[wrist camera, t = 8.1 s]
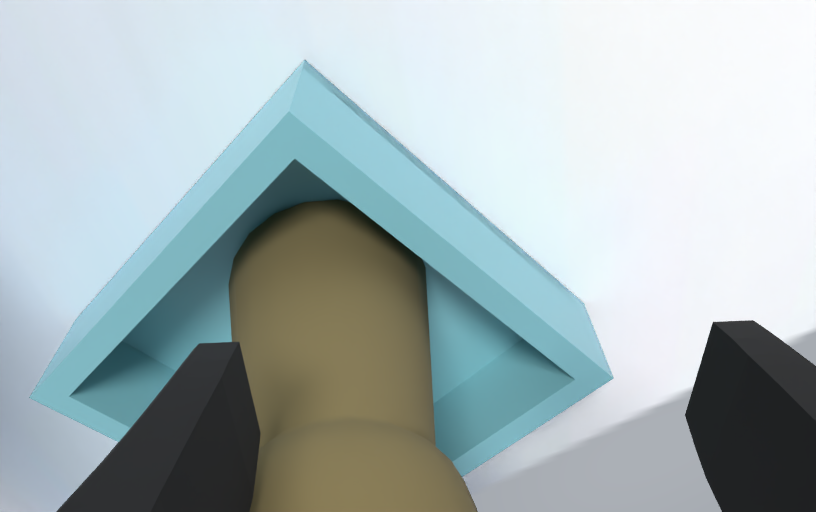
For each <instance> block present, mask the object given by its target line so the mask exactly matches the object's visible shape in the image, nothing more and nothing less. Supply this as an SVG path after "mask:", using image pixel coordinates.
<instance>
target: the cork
mask: <svg viewBox="0 0 816 512" xmlns="http://www.w3.org/2000/svg"><path fill="white" fill-rule="evenodd" d="M228 286H229V303H230V320H231V336H232V342H239V343H240V347H241V351H242V356H243V360H244V364H245V368H246V373H247V377H248V381H249V385H250V390H251V394H252V398H253V402H254V407H255V411H256V415H257V419H258V424H259V428H260V432H261V434H260V443H259V453H258V462H257V470H256V478H255V486H254V493H253V499H252V503H251V508H250V512H477V508H476V506H475V504H474V501H473V499H472V497H471V495H470V493H469V490H468V488H467V486H466V484H465V482H464V480H463V478H462V477H461V475H460V474H459V472H458V470H457V469H456V467H455V466H454V464H453V462H452V461H451V460H450V459H449V458H448V457H447V456H446V455H445V454H444V453H442V452H441V451H440V450H439V449H438V448H437V447H436V442H435V424H434V406H433V389H432V371H431V354H430V336H429V318H428V301H427V283H426V267H425V264H424V262H423V259H422V258H420V257H419V256H418V255H417V254H415V253H414V252H413V251H411V250H410V249H409V248H408V247H406V246H405V245H404V244H403V243H401V242H400V241H399V240H398V239H396V238H395V237H394V236H392V235H391V234H390V233H389V232H387V231H386V230H385V229H384V228H382V227H381V226H380V225H378V224H377V223H376V222H375V221H373V220H372V219H371V218H370V217H368V216H367V215H366V214H365V213H363V212H362V211H361V210H359V209H358V208H357V207H356V206H354V205H353V204H352V203H351V202H347V201H342V200H325V201H312V202H303V203H301V204H298V205H296V206H293V207H290V208H288V209H285V210H283V211H280V212H277V213H275V214H273V215H272V216H270V217H269V218H268V219H267V220H265V221H264V222H263V223H262V224H260V225H259V226H258V227H257V228H255V229H254V230H253V231H252V232H250V233H249V235H248V236H247V238H246V239H245V241H244V242H243V244H242V246H241V247H240V249H239V250H238V252H237V254H236V255H235V257H234V259H233V264H232V269H231V274H230V279H229V284H228Z"/></svg>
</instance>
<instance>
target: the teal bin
mask: <svg viewBox="0 0 816 512" xmlns="http://www.w3.org/2000/svg"><path fill="white" fill-rule="evenodd" d="M325 200H342V201H347V202H351V203H352V204H353V205H354V206H356V207H357V208H358V209H359V210H361V211H362V212H363V213H365V214H366V215H367V216H368V217H370V218H371V219H372V220H373V221H375V222H376V223H377V224H378V225H380V226H381V227H382V228H384V229H385V230H386V231H387V232H389V233H390V234H391V235H392V236H394V237H395V238H396V239H398V240H399V241H400V242H401V243H403V244H404V245H405V246H406V247H408V248H409V249H410V250H411V251H413V252H414V253H415V254H417V255H418V256H419V257H420V258H422V259H423V262H424V264H425V267H426V283H427V301H428V318H429V336H430V354H431V371H432V389H433V406H434V424H435V442H436V447H437V448H438V449H439V450H440V451H441V452H442V453H444V454H445V455H446V456H447V457H448V458H449V459H450V460H451V461H452V462H453V464H454V466H455V467H456V469H457V470H458V472H459V474H460V475H461V477H463V476H464V475H466V474H467V473H469V472H470V471H472V470H474V469H475V468H477V467H478V466H480V465H481V464H483V463H484V462H486V461H487V460H489V459H490V458H492V457H493V456H495V455H497V454H498V453H500V452H501V451H503V450H504V449H506V448H507V447H509V446H510V445H512V444H513V443H515V442H516V441H518V440H520V439H521V438H523V437H524V436H526V435H527V434H529V433H530V432H532V431H533V430H535V429H536V428H538V427H540V426H541V425H543V424H544V423H546V422H547V421H549V420H550V419H552V418H553V417H555V416H556V415H558V414H559V413H561V412H563V411H564V410H566V409H567V408H569V407H570V406H572V405H573V404H575V403H576V402H578V401H579V400H581V399H583V398H584V397H586V396H587V395H589V394H590V393H592V392H593V391H595V390H596V389H598V388H599V387H601V386H602V385H604V384H606V383H607V382H609V381H610V380H612V379H613V375H612V373H611V370H610V368H609V365H608V363H607V360H606V358H605V355H604V353H603V350H602V348H601V345H600V343H599V340H598V338H597V335H596V333H595V330H594V328H593V325H592V323H591V320H590V318H589V315H588V313H587V310H586V308H585V305H584V303H583V302H582V301H581V300H579V299H578V298H577V297H576V296H575V295H574V294H572V293H571V292H570V291H569V290H568V289H567V288H566V287H564V286H563V285H562V284H561V283H560V282H559V281H558V280H556V279H555V278H554V277H553V276H552V275H551V274H550V273H548V272H547V271H546V270H545V269H544V268H543V267H542V266H540V265H539V264H538V263H537V262H536V261H535V260H534V259H532V258H531V257H530V256H529V255H528V254H527V253H526V252H524V251H523V250H522V249H521V248H520V247H519V246H517V245H516V244H515V243H514V242H513V241H512V240H511V239H509V238H508V237H507V236H506V235H505V234H504V233H503V232H501V231H500V230H499V229H498V228H497V227H496V226H495V225H493V224H492V223H491V222H490V221H489V220H488V219H487V218H485V217H484V216H483V215H482V214H481V213H480V212H479V211H477V210H476V209H475V208H474V207H473V206H472V205H471V204H469V203H468V202H467V201H466V200H465V199H464V198H462V197H461V196H460V195H459V194H458V193H457V192H456V191H454V190H453V189H452V188H451V187H450V186H449V185H448V184H446V183H445V182H444V181H443V180H442V179H441V178H440V177H438V176H437V175H436V174H435V173H434V172H433V171H432V170H430V169H429V168H428V167H427V166H426V165H425V164H424V163H422V162H421V161H420V160H419V159H418V158H417V157H416V156H414V155H413V154H412V153H411V152H410V151H409V150H407V149H406V148H405V147H404V146H403V145H402V144H401V143H399V142H398V141H397V140H396V139H395V138H394V137H393V136H391V135H390V134H389V133H388V132H387V131H386V130H385V129H383V128H382V127H381V126H380V125H379V124H378V123H377V122H375V121H374V120H373V119H372V118H371V117H370V116H369V115H367V114H366V113H365V112H364V111H363V110H362V109H361V108H359V107H358V106H357V105H356V104H355V103H354V102H353V101H351V100H350V99H349V98H348V97H347V96H346V95H344V94H343V93H342V92H341V91H340V90H339V89H338V88H336V87H335V86H334V85H333V84H332V83H331V82H330V81H328V80H327V79H326V78H325V77H324V76H323V75H322V74H320V73H319V72H318V71H317V70H316V69H315V68H314V67H312V66H311V65H310V64H309V63H308V62H307V61H306V60H304V61H303V62H302V63H301V64H300V66H299V67H298V68H297V69H296V70H295V71H294V72H293V74H292V75H291V76H290V77H289V78H288V79H287V80H286V82H285V83H284V84H283V85H282V86H281V87H280V88H279V89H278V91H277V92H276V93H275V94H274V95H273V96H272V97H271V99H270V100H269V101H268V102H267V103H266V104H265V105H264V107H263V108H262V109H261V110H260V111H259V112H258V113H257V114H256V116H255V117H254V118H253V119H252V120H251V121H250V122H249V124H248V125H247V126H246V127H245V128H244V129H243V130H242V132H241V133H240V134H239V135H238V136H237V137H236V138H235V139H234V141H233V142H232V143H231V144H230V145H229V146H228V147H227V149H226V150H225V151H224V152H223V153H222V154H221V155H220V156H219V158H218V159H217V160H216V161H215V162H214V163H213V164H212V166H211V167H210V168H209V169H208V170H207V171H206V172H205V174H204V175H203V176H202V177H201V178H200V179H199V180H198V181H197V183H196V184H195V185H194V186H193V187H192V188H191V189H190V191H189V192H188V193H187V194H186V195H185V196H184V197H183V199H182V200H181V201H180V202H179V203H178V204H177V205H176V206H175V208H174V209H173V210H172V211H171V212H170V213H169V214H168V216H167V217H166V218H165V219H164V220H163V221H162V222H161V224H160V225H159V226H158V227H157V228H156V229H155V230H154V231H153V233H152V234H151V235H150V236H149V237H148V238H147V239H146V241H145V242H144V243H143V244H142V245H141V246H140V247H139V248H138V250H137V251H136V252H135V253H134V254H133V255H132V256H131V258H130V259H129V260H128V261H127V262H126V263H125V264H124V266H123V267H122V268H121V269H120V270H119V271H118V272H117V273H116V275H115V276H114V277H113V278H112V279H111V280H110V281H109V283H108V284H107V285H106V286H105V287H104V288H103V289H102V291H101V292H100V293H99V294H98V295H97V296H96V297H95V298H94V300H93V301H92V302H91V303H90V304H89V305H88V306H87V308H86V309H85V310H84V311H83V312H82V313H81V314H80V316H79V317H78V318H77V319H76V320H75V322H74V324H73V325H72V327H71V329H70V330H69V332H68V334H67V335H66V337H65V339H64V340H63V342H62V344H61V345H60V347H59V349H58V350H57V352H56V354H55V356H54V357H53V359H52V361H51V362H50V364H49V366H48V367H47V369H46V371H45V372H44V374H43V376H42V377H41V379H40V381H39V382H38V384H37V386H36V387H35V389H34V391H33V392H32V394H31V396H30V397H29V398H31V399H33V400H35V401H37V402H39V403H41V404H43V405H45V406H47V407H49V408H51V409H53V410H55V411H57V412H59V413H61V414H63V415H65V416H67V417H69V418H71V419H73V420H75V421H77V422H79V423H81V424H83V425H85V426H87V427H89V428H91V429H93V430H95V431H97V432H99V433H101V434H103V435H105V436H107V437H109V438H111V439H114V440H116V441H118V442H119V441H120V440H121V439H122V438H123V436H124V435H125V434H126V433H127V432H128V430H129V429H130V428H131V427H132V426H133V424H134V423H135V422H136V421H137V420H138V418H139V417H140V416H141V415H142V414H143V412H144V411H145V410H146V409H147V407H148V406H149V405H150V404H151V402H152V401H153V400H154V399H155V397H156V396H157V395H158V394H159V392H160V391H161V390H162V389H163V387H164V386H165V385H166V384H167V382H168V381H169V380H170V378H171V377H172V376H173V375H174V373H175V372H176V371H177V369H178V368H179V367H180V366H181V364H182V363H183V362H184V360H185V359H186V358H187V357H188V355H189V354H190V353H191V352H192V350H193V349H194V348H195V347H196V346H197V345H198V344H199V343H219V342H232V336H231V320H230V303H229V286H228V284H229V279H230V274H231V269H232V264H233V259H234V257H235V255H236V254H237V252H238V250H239V249H240V247H241V246H242V244H243V242H244V241H245V239H246V238H247V236H248V235H249V233H250V232H252V231H253V230H254V229H255V228H257V227H258V226H259V225H260V224H262V223H263V222H264V221H265V220H267V219H268V218H269V217H270V216H272V215H273V214H275V213H277V212H280V211H283V210H285V209H288V208H290V207H293V206H296V205H298V204H301V203H303V202H312V201H325Z"/></svg>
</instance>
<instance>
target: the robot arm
mask: <svg viewBox="0 0 816 512" xmlns="http://www.w3.org/2000/svg"><path fill="white" fill-rule="evenodd" d="M685 416H686V419H687V423H688V426H689V429H690V432H691V435H692V438H693V442H694V445H695V448H696V451H697V453H698V456H699V459H700V462H701V465H702V468H703V470H704V473H705V476H706V479H707V481H708V483H709V485H710V487H711V489H712V491H713V494H714V496H715V498H716V500H717V502H718V504H719V506H720V508H721V510H722V512H816V366H815V365H814V364H812V363H811V362H810V361H808V360H807V359H806V358H804V357H803V356H802V355H800V354H799V353H798V352H796V351H795V350H794V349H792V348H791V347H790V346H788V345H787V344H786V343H784V342H783V341H782V340H780V339H779V338H778V337H776V336H775V335H773V334H772V333H771V332H769V331H768V330H766V329H765V328H764V327H762V326H761V325H759V324H758V323H756V322H755V321H753V320H752V321H728V322H713V324H712V327H711V331H710V334H709V337H708V341H707V344H706V347H705V351H704V354H703V357H702V361H701V364H700V367H699V371H698V374H697V377H696V381H695V384H694V387H693V391H692V394H691V397H690V401H689V404H688V407H687V410H686V414H685ZM260 434H261V432H260V428H259V424H258V419H257V415H256V411H255V407H254V402H253V398H252V394H251V390H250V385H249V381H248V377H247V373H246V368H245V364H244V360H243V356H242V351H241V347H240V343H239V342H219V343H199V344H198V345H197V346H196V347H195V348H194V349H193V350H192V352H191V353H190V354H189V355H188V357H187V358H186V359H185V360H184V362H183V363H182V364H181V366H180V367H179V368H178V369H177V371H176V372H175V373H174V375H173V376H172V377H171V378H170V380H169V381H168V382H167V384H166V385H165V386H164V387H163V389H162V390H161V391H160V392H159V394H158V395H157V396H156V397H155V399H154V400H153V401H152V402H151V404H150V405H149V406H148V407H147V409H146V410H145V411H144V412H143V414H142V415H141V416H140V417H139V418H138V420H137V421H136V422H135V423H134V424H133V426H132V427H131V428H130V429H129V430H128V432H127V433H126V434H125V435H124V436H123V438H122V439H121V440H120V441H119V442H118V443H117V445H116V446H115V447H114V448H113V449H112V451H111V452H110V453H109V454H108V455H107V457H106V458H105V459H104V460H103V461H102V462H101V463H100V465H99V466H98V467H97V468H96V469H95V470H94V471H93V472H92V473H91V474H90V476H89V477H88V478H87V479H86V480H85V481H84V482H83V483H82V484H81V485H80V486H79V488H78V489H77V490H76V491H75V492H74V493H73V494H72V495H71V496H70V497H69V498H68V500H67V501H66V502H65V503H64V504H63V505H62V506H61V507H60V508H59V509H58V510H57V512H250V508H251V503H252V499H253V493H254V486H255V478H256V470H257V462H258V453H259V443H260Z"/></svg>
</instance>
